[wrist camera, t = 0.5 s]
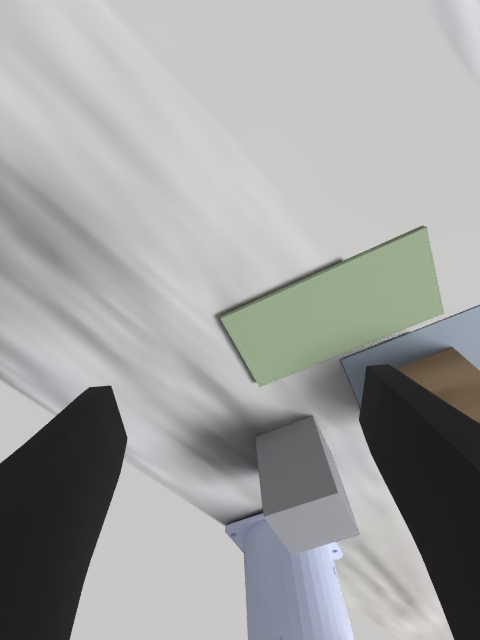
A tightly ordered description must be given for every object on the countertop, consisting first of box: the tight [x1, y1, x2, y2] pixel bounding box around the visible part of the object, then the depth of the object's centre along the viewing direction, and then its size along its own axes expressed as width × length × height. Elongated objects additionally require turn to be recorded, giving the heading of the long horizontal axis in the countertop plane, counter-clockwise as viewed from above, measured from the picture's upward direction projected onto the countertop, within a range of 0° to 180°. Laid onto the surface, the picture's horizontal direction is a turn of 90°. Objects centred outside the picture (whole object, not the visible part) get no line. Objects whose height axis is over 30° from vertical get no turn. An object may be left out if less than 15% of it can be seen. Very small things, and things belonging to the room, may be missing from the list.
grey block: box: [255, 415, 360, 555], centre depth 22 cm, size 4×4×6 cm
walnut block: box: [396, 347, 480, 423], centre depth 20 cm, size 4×4×6 cm
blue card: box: [341, 305, 480, 409], centre depth 22 cm, size 9×9×1 cm
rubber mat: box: [220, 226, 444, 387], centre depth 20 cm, size 6×12×1 cm, turn 115°
